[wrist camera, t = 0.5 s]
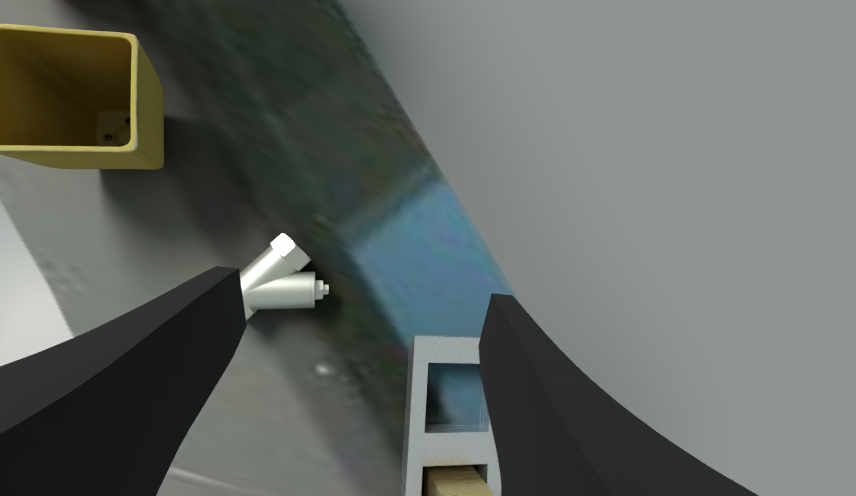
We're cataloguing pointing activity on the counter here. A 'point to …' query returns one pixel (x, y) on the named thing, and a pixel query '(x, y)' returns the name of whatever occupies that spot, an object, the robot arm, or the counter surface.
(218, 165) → the counter surface
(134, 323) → the robot arm
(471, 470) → the wooden block
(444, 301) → the counter surface
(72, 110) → the flower pot
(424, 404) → the white block holder tray
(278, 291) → the pipe fitting
